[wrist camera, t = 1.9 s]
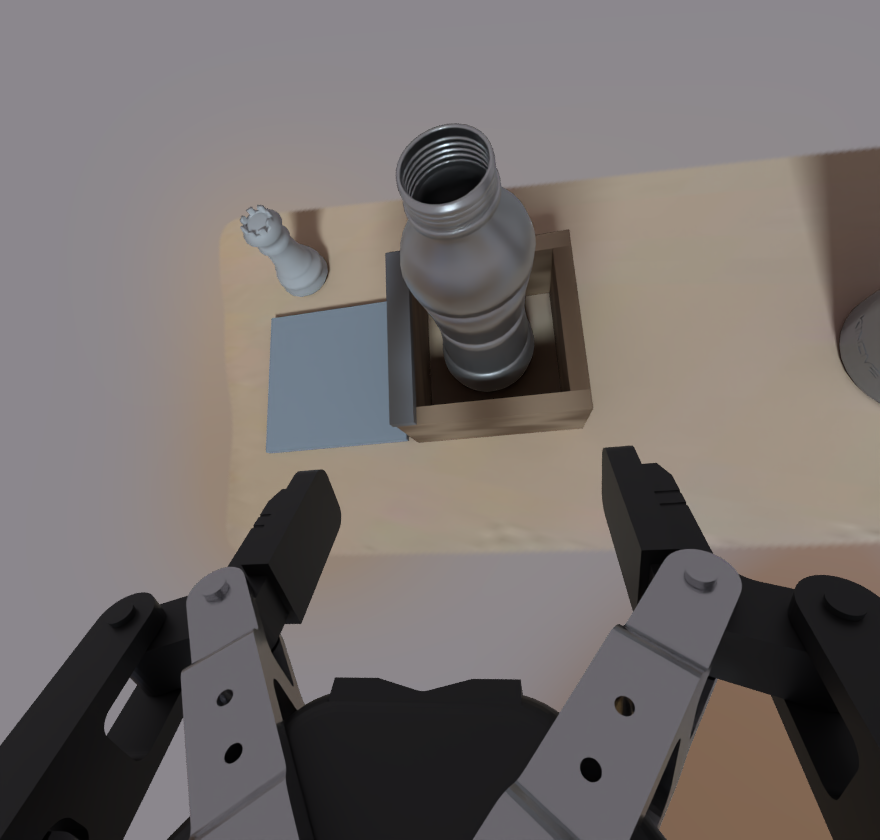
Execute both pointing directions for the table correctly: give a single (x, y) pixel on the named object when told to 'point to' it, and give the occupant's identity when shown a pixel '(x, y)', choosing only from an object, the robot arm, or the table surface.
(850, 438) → the table surface
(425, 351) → the holder
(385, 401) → the mat
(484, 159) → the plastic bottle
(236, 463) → the table surface
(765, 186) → the table surface
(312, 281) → the rook chess piece
